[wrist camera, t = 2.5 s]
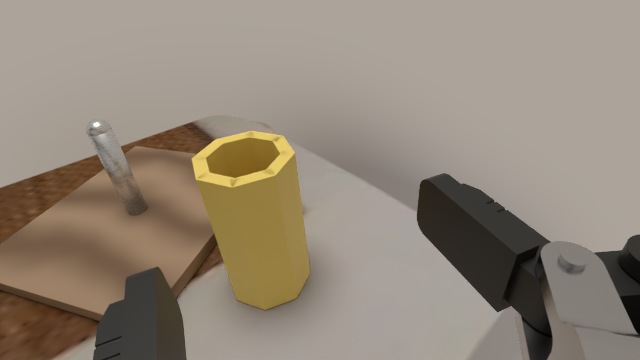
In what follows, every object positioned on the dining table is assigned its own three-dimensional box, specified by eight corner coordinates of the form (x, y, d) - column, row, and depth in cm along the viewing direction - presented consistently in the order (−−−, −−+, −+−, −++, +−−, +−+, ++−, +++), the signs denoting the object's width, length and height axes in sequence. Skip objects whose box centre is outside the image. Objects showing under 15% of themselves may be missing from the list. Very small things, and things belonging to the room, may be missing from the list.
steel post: (139, 218, 33) (94, 126, 27) (124, 215, 33) (76, 124, 28) (152, 206, 34) (111, 116, 29) (137, 203, 35) (94, 114, 29)
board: (148, 336, 24) (141, 326, 24) (-28, 280, 29) (-38, 271, 29) (269, 172, 39) (267, 163, 39) (139, 154, 45) (135, 146, 44)
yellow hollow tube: (291, 317, 25) (267, 193, 18) (217, 297, 26) (170, 178, 20) (318, 253, 29) (306, 136, 23) (253, 240, 31) (224, 128, 24)
